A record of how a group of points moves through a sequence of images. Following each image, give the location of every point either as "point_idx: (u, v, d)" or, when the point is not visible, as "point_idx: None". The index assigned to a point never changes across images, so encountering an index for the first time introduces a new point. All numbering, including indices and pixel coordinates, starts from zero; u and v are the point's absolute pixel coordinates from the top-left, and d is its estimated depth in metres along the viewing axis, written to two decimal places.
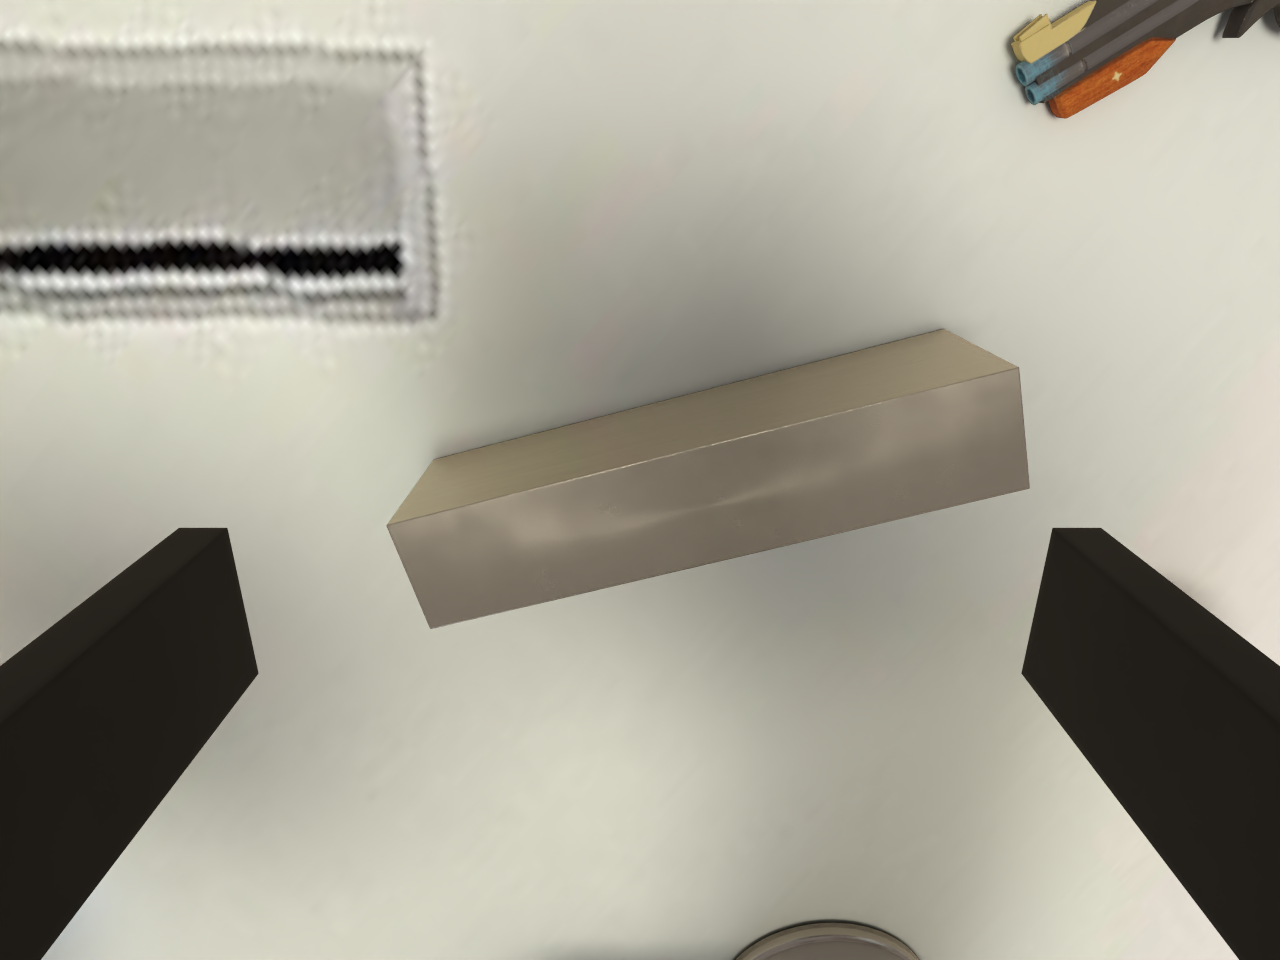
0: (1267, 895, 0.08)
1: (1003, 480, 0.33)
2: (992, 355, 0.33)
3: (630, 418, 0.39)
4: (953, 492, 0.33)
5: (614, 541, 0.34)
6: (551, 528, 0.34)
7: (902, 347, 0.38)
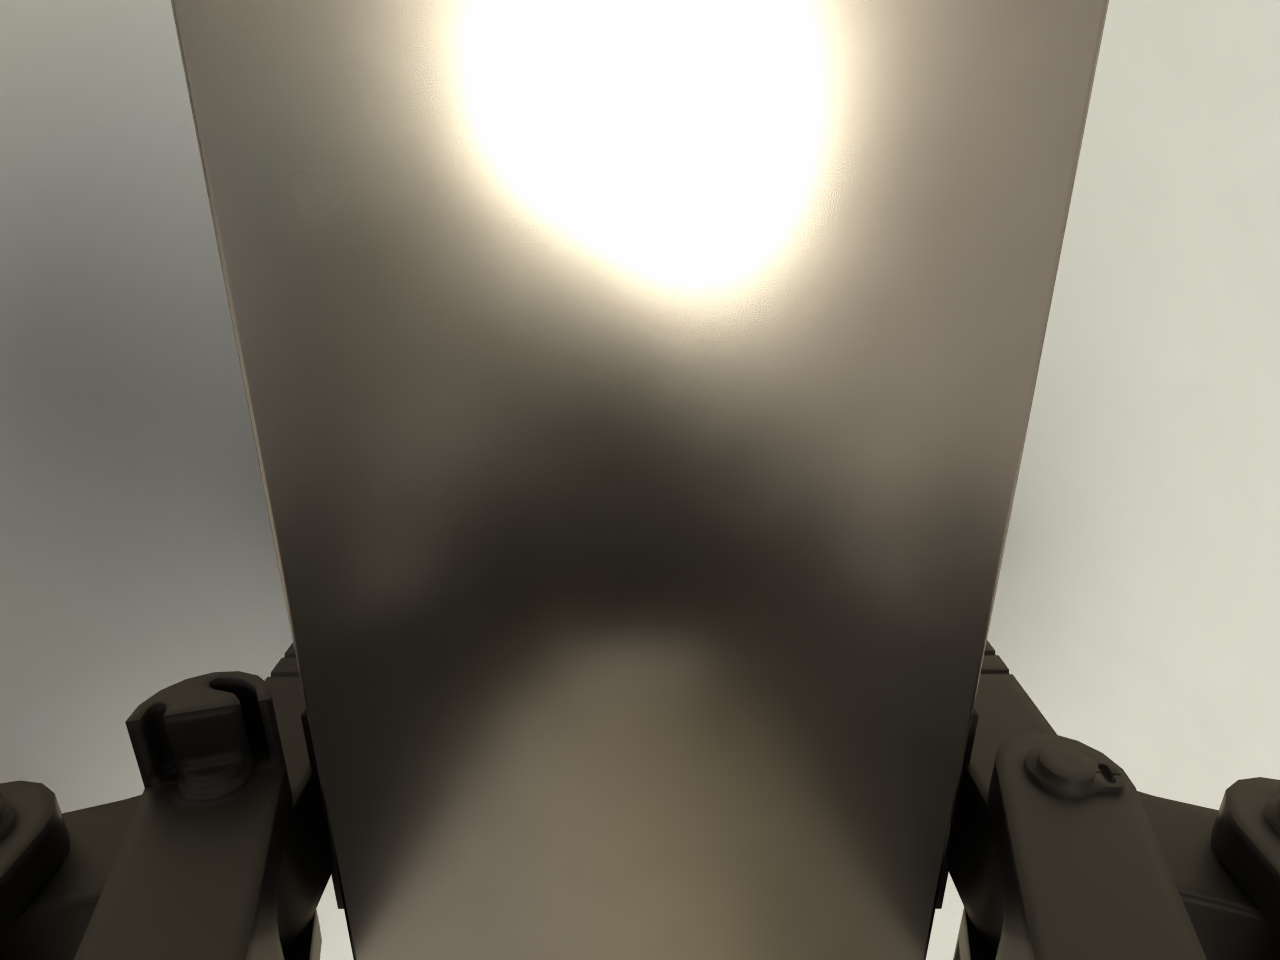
0: None
1: None
2: None
3: None
4: None
5: None
6: None
7: None
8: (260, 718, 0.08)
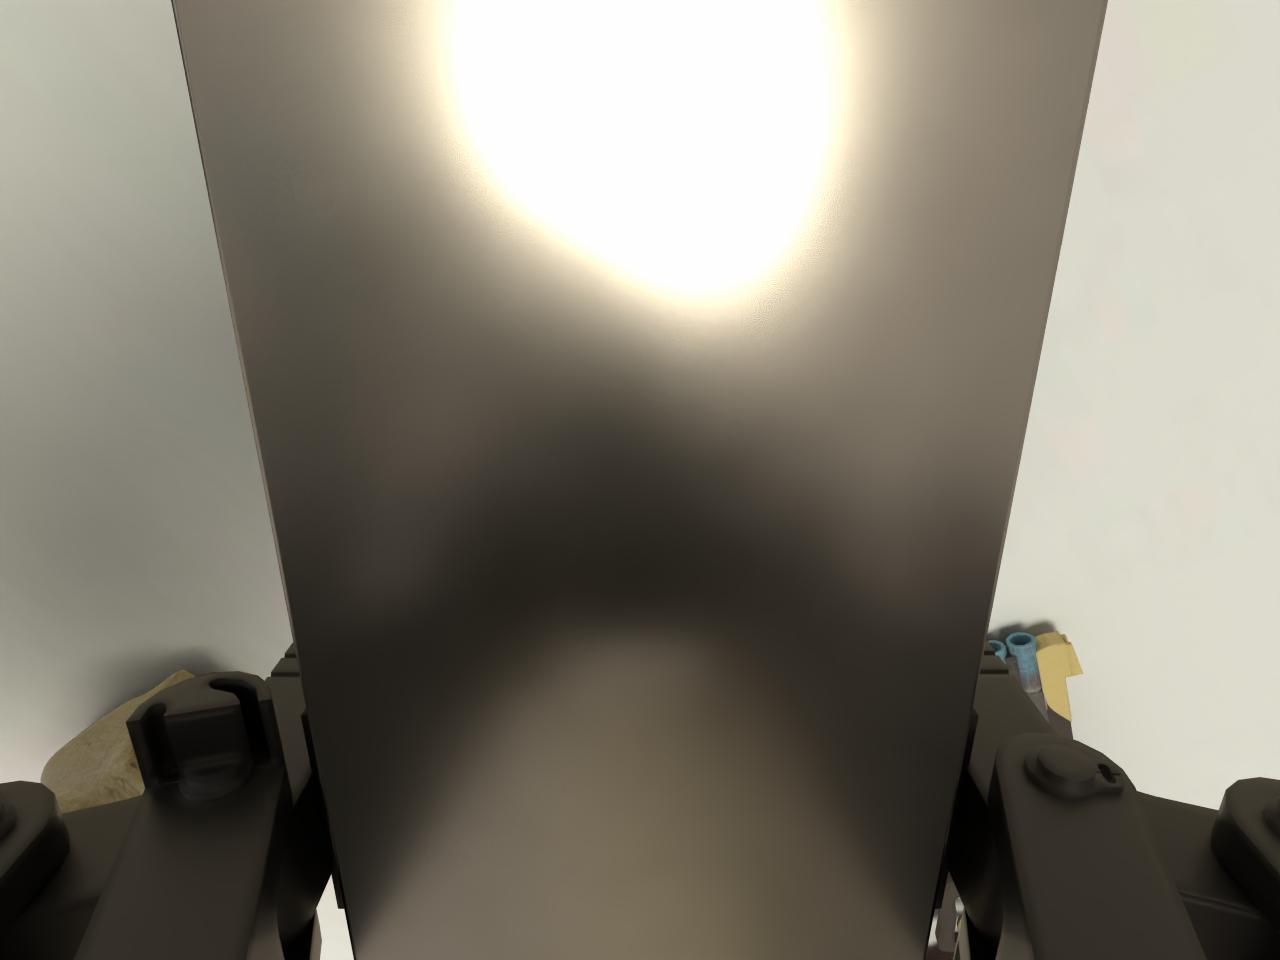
0: None
1: None
2: None
3: None
4: None
5: None
6: None
7: None
8: (260, 718, 0.08)
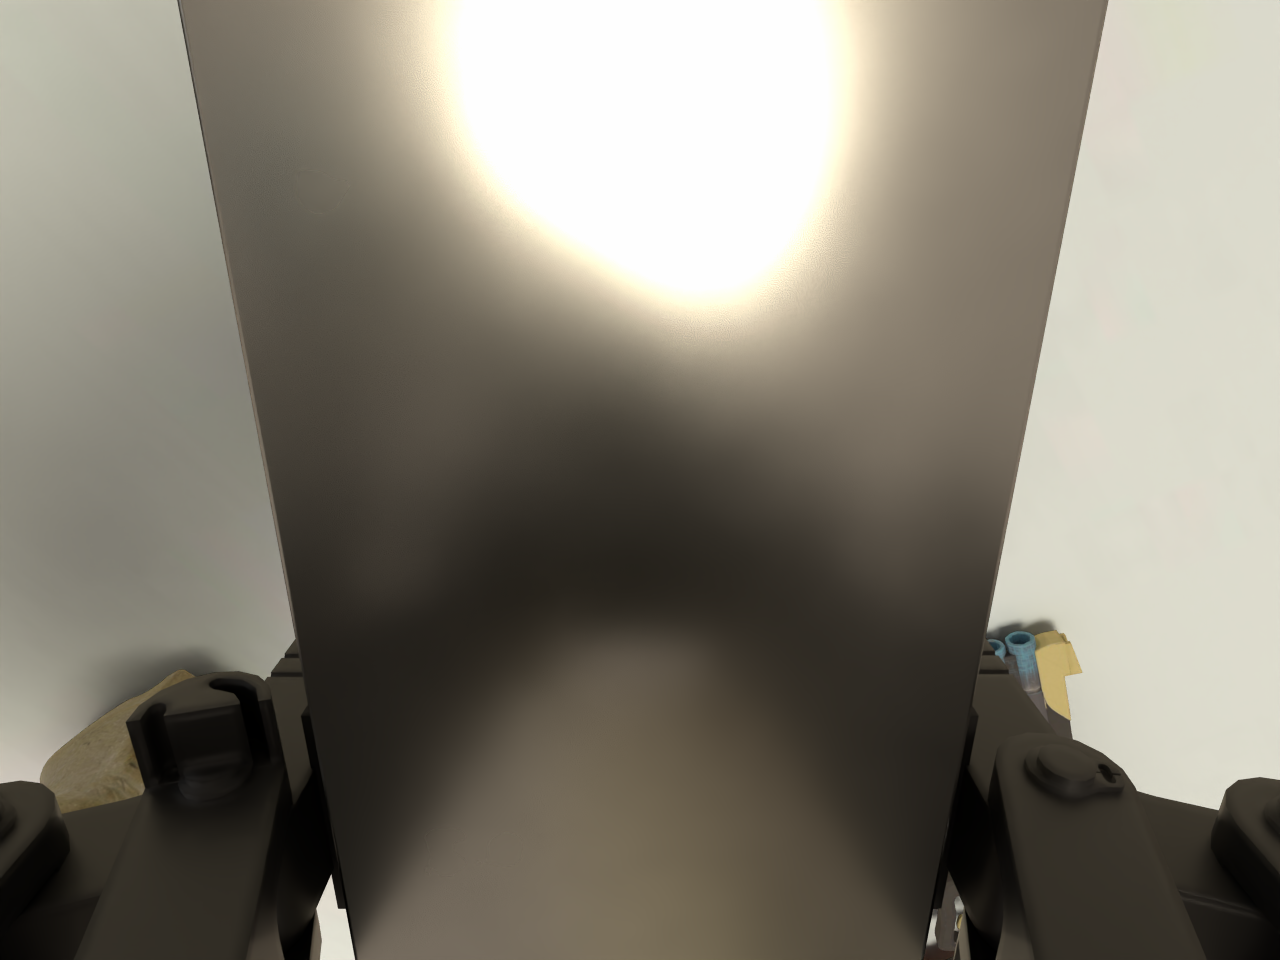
0: None
1: None
2: None
3: None
4: None
5: None
6: None
7: None
8: (260, 718, 0.08)
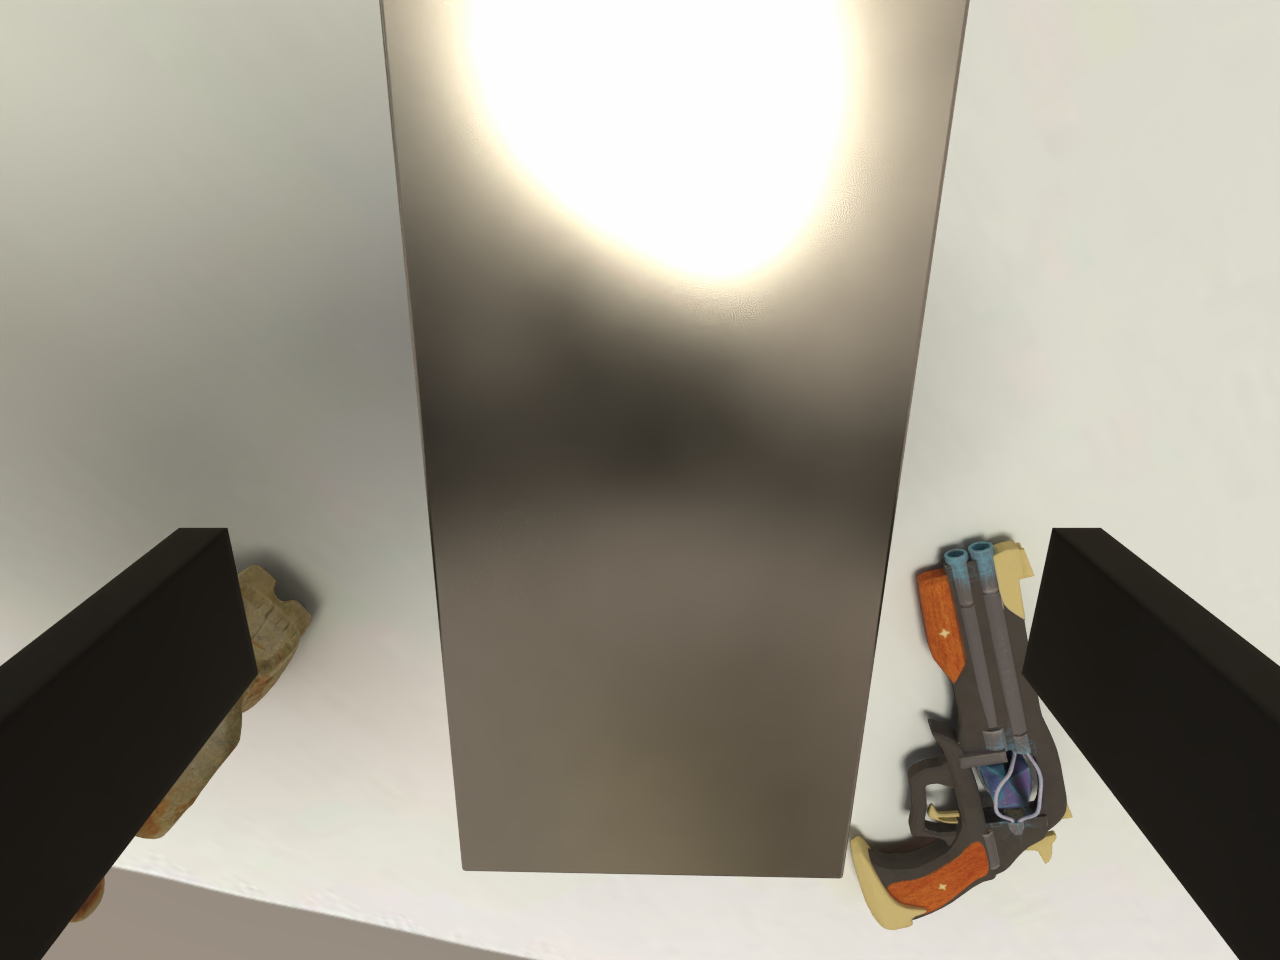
0: (1267, 895, 0.08)
1: (505, 816, 0.11)
2: None
3: None
4: (496, 688, 0.10)
5: None
6: None
7: None
8: None
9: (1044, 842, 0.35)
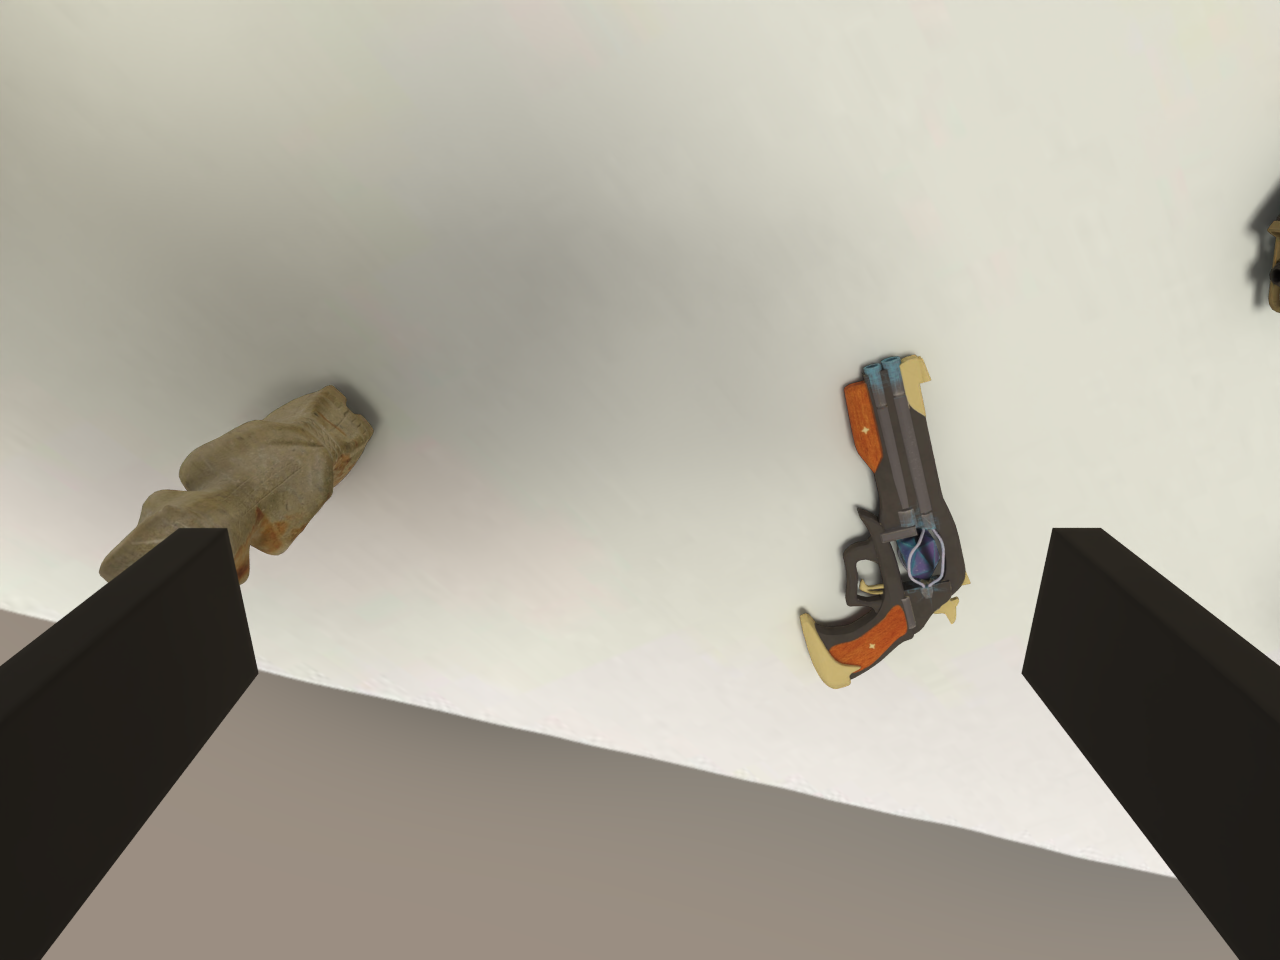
0: (1267, 895, 0.08)
1: None
2: None
3: None
4: None
5: None
6: None
7: None
8: None
9: (950, 605, 0.45)
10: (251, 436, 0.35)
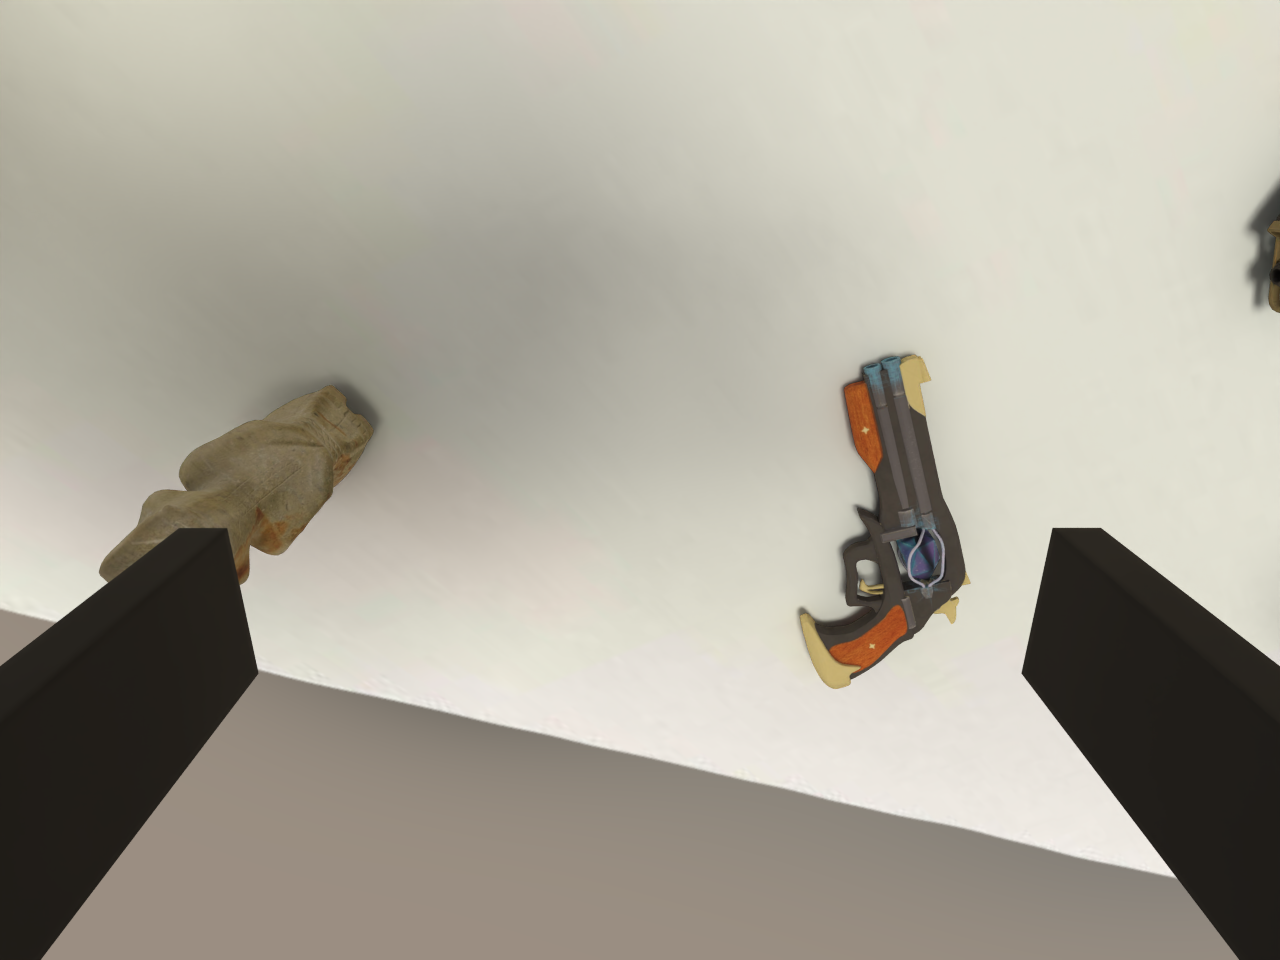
0: (1267, 895, 0.08)
1: None
2: None
3: None
4: None
5: None
6: None
7: None
8: None
9: (950, 605, 0.45)
10: (251, 436, 0.35)
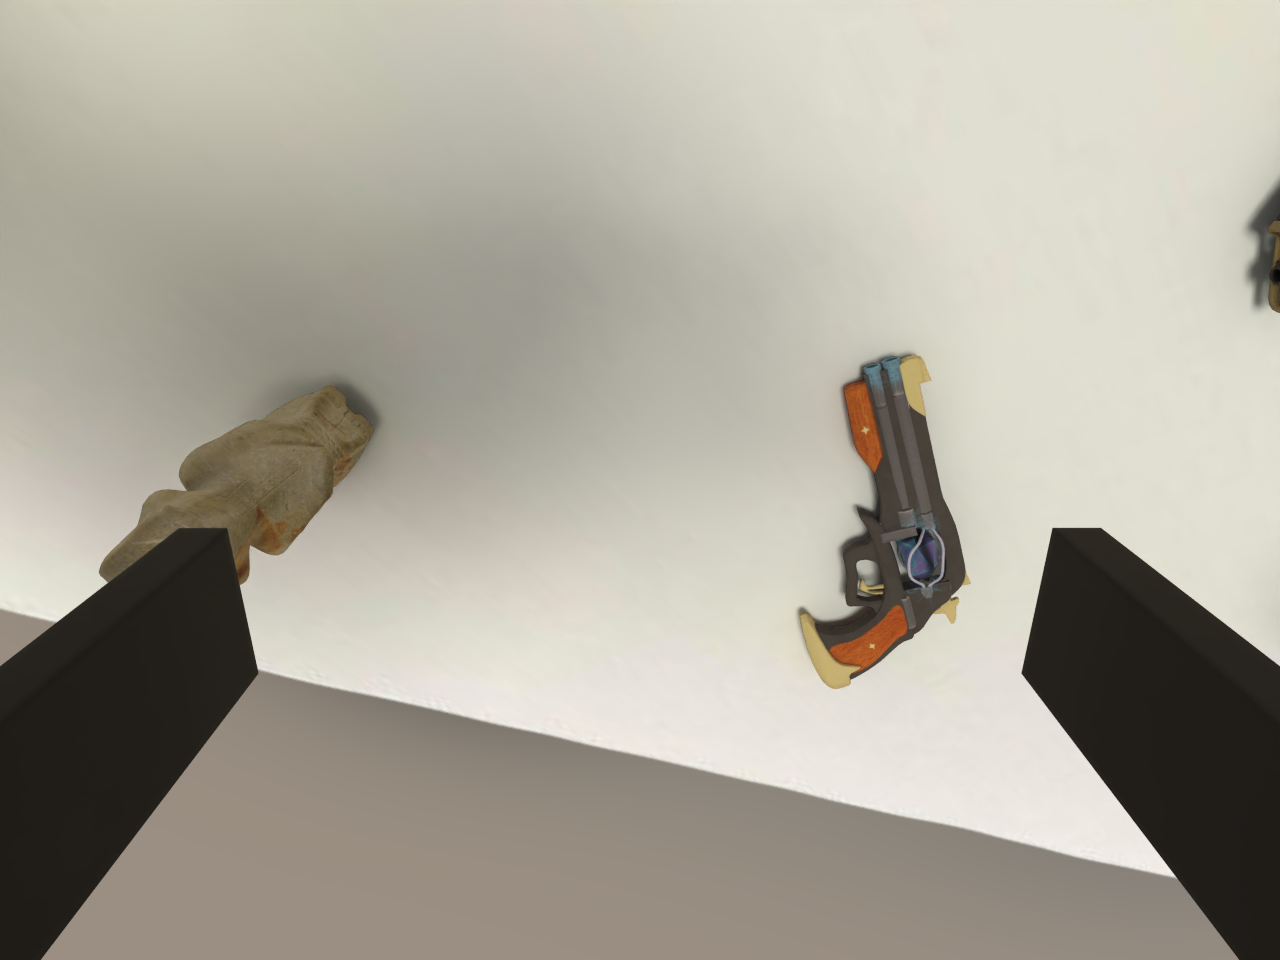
0: (1267, 895, 0.08)
1: None
2: None
3: None
4: None
5: None
6: None
7: None
8: None
9: (950, 605, 0.45)
10: (251, 436, 0.35)
